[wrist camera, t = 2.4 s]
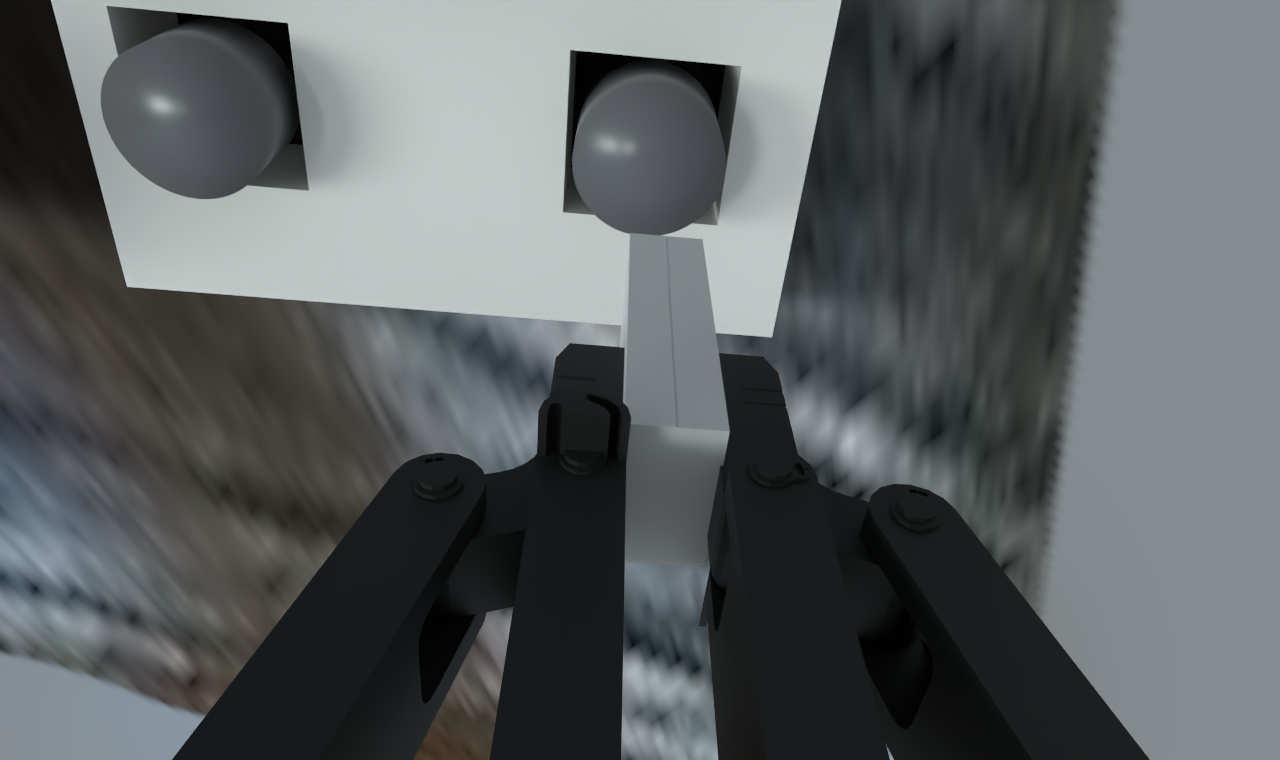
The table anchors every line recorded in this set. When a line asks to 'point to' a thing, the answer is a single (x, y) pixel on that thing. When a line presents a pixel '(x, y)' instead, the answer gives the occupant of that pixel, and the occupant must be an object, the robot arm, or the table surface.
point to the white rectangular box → (464, 154)
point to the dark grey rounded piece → (200, 107)
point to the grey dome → (648, 149)
